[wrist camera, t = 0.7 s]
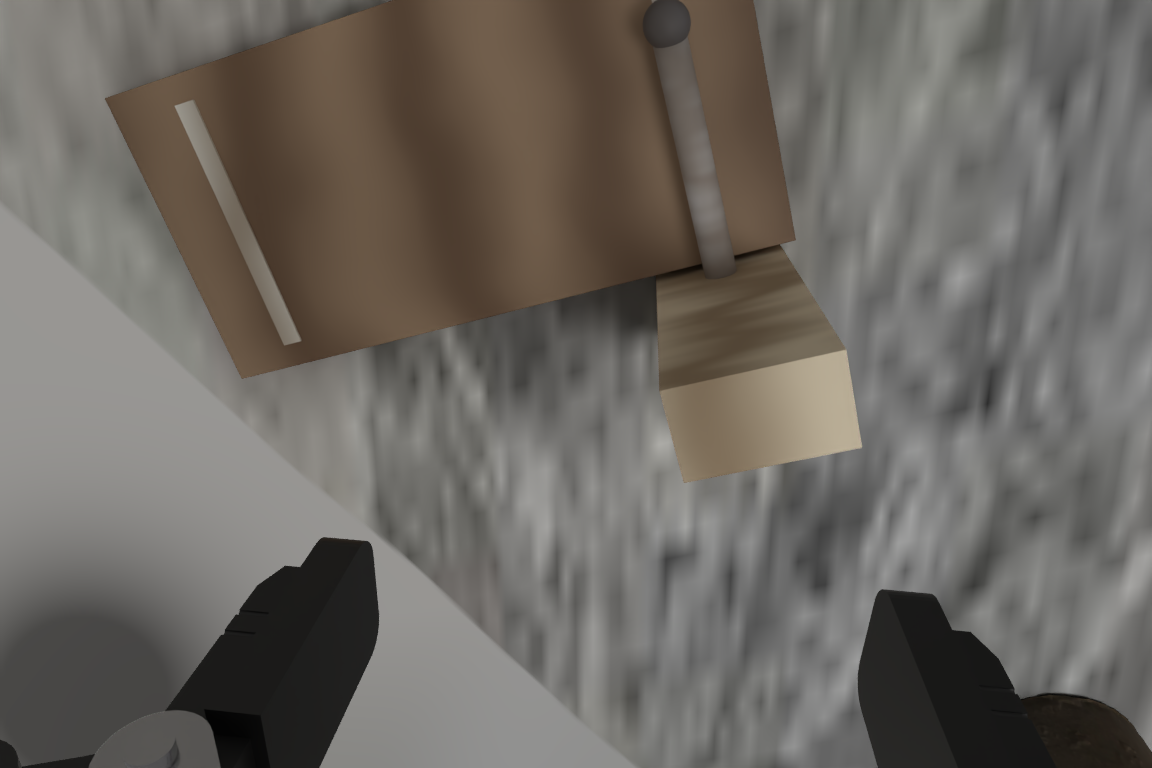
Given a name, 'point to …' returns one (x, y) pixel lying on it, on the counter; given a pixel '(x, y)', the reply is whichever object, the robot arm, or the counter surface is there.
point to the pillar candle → (1086, 733)
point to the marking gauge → (737, 317)
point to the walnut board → (445, 166)
